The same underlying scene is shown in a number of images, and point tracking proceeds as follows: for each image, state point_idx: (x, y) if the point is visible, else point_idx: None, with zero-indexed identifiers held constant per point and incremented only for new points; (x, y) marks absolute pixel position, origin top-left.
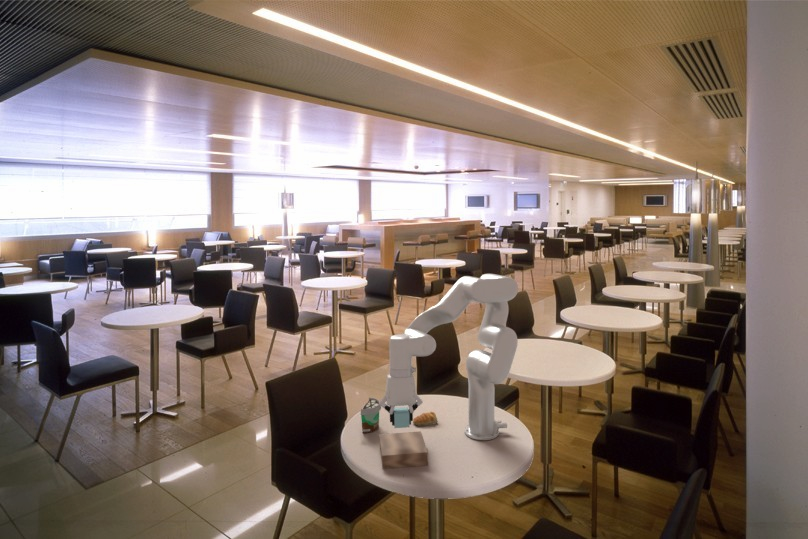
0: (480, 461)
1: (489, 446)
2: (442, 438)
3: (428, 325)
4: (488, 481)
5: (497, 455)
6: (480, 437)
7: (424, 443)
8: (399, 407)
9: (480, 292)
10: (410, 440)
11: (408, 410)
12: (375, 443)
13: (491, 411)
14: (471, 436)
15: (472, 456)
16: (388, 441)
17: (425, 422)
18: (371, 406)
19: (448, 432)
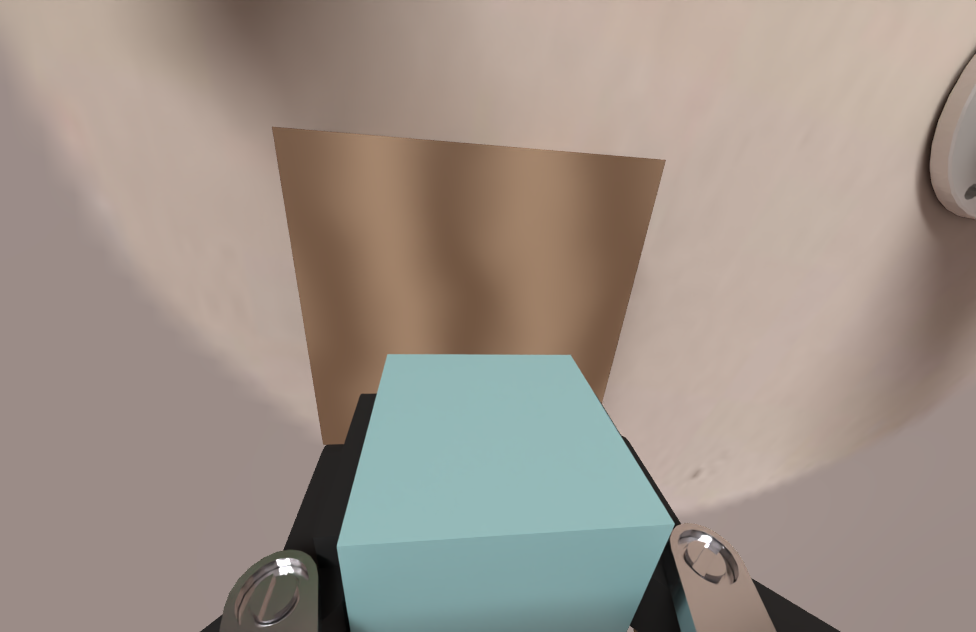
0: (790, 392)
1: (927, 279)
2: (778, 118)
3: None
4: (727, 498)
5: (886, 360)
6: (971, 212)
7: (613, 351)
8: (494, 536)
9: None
10: (535, 298)
11: (626, 627)
12: (274, 67)
13: None
14: (943, 173)
15: (789, 352)
16: (366, 282)
17: None
18: None
19: (873, 22)
